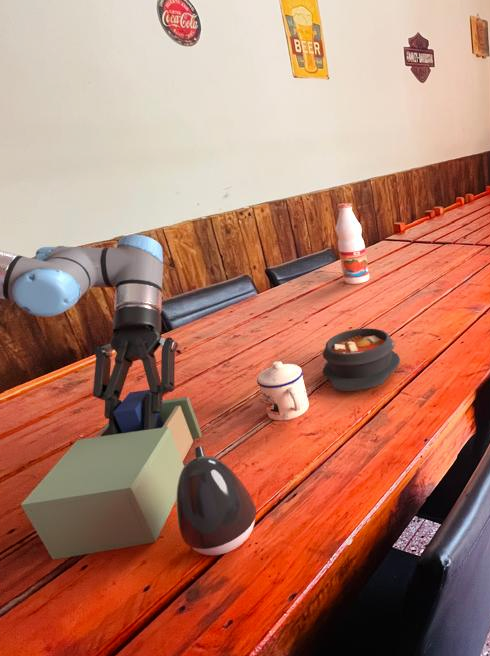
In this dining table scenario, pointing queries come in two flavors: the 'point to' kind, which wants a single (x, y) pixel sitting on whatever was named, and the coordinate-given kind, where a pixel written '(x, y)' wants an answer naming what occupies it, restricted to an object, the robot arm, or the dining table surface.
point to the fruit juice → (351, 246)
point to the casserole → (359, 359)
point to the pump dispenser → (213, 506)
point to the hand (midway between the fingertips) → (132, 433)
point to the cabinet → (107, 493)
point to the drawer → (176, 423)
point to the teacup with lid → (283, 391)
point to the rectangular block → (133, 413)
